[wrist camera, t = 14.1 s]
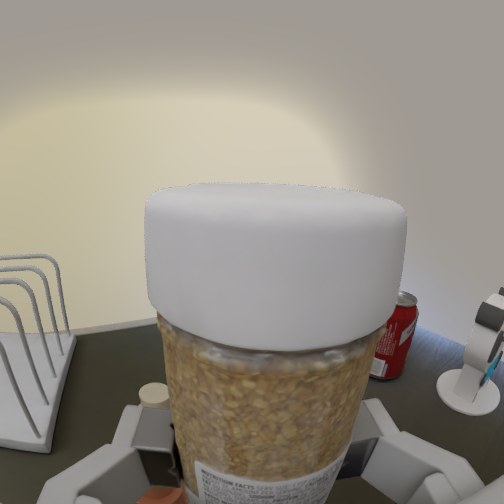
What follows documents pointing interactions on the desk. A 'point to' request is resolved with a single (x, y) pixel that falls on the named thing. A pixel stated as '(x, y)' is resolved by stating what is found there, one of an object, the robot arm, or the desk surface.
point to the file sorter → (32, 370)
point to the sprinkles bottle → (269, 329)
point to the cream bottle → (154, 396)
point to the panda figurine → (477, 363)
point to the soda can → (396, 338)
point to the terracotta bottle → (164, 495)
